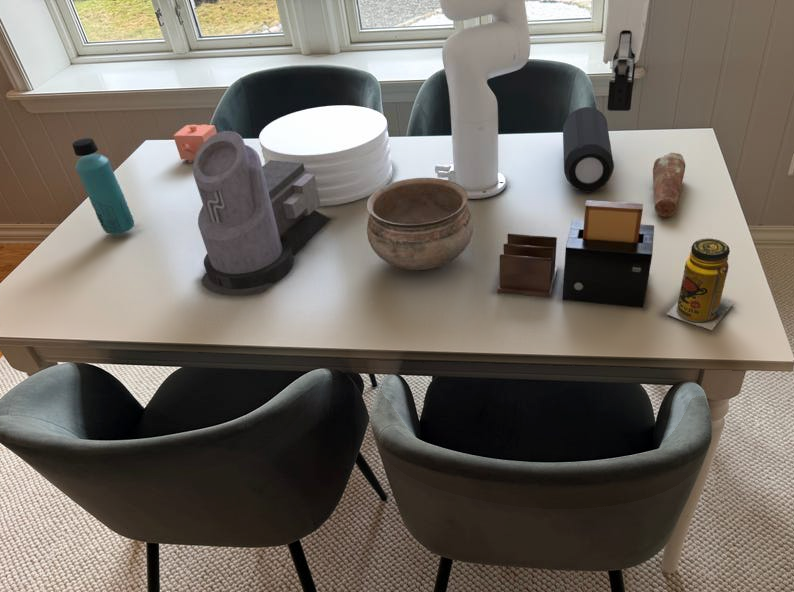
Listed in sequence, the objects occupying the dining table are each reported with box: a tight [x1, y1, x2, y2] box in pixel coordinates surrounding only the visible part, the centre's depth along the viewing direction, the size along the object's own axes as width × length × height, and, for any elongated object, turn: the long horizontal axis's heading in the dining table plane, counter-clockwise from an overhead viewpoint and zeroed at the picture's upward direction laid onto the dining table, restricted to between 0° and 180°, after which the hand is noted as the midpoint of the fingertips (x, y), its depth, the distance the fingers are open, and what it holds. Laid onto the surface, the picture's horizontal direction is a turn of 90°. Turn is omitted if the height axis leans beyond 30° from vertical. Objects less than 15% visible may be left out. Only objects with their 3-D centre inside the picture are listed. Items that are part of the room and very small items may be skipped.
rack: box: [496, 233, 558, 298], centre depth 113 cm, size 9×8×7 cm
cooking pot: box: [366, 177, 474, 271], centre depth 119 cm, size 25×19×12 cm
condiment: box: [666, 238, 734, 331], centre depth 102 cm, size 7×8×12 cm
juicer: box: [192, 130, 331, 297], centre depth 122 cm, size 30×16×24 cm, turn 158°
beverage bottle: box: [71, 137, 135, 235], centre depth 133 cm, size 6×7×20 cm
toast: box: [583, 199, 644, 243], centre depth 106 cm, size 8×2×11 cm, turn 74°
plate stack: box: [258, 105, 394, 207], centre depth 150 cm, size 28×28×12 cm
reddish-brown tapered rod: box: [652, 152, 686, 218], centre depth 133 cm, size 6×19×6 cm, turn 161°
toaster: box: [561, 219, 655, 309], centre depth 109 cm, size 13×10×10 cm
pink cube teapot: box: [172, 124, 218, 163], centre depth 165 cm, size 8×12×8 cm, turn 168°
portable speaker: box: [562, 106, 615, 193], centre depth 144 cm, size 26×10×10 cm, turn 172°
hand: (620, 98), depth 99 cm, fingers open, 9 cm apart
